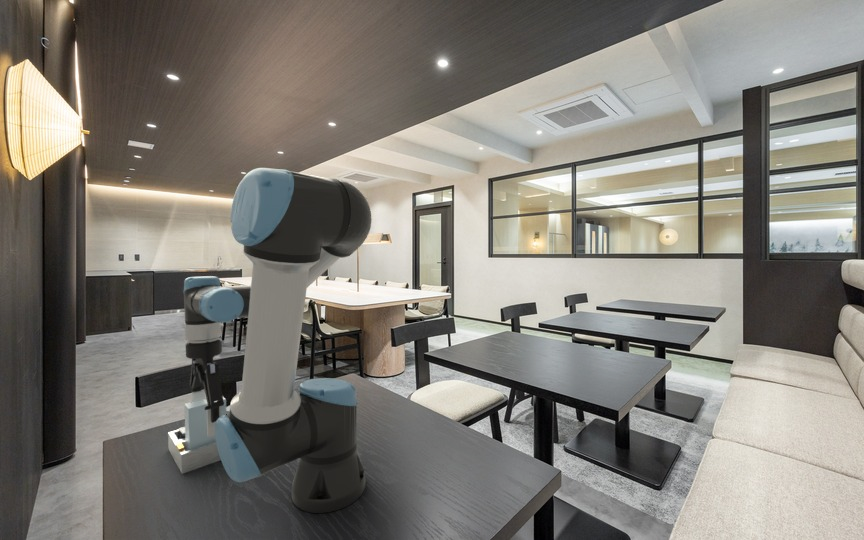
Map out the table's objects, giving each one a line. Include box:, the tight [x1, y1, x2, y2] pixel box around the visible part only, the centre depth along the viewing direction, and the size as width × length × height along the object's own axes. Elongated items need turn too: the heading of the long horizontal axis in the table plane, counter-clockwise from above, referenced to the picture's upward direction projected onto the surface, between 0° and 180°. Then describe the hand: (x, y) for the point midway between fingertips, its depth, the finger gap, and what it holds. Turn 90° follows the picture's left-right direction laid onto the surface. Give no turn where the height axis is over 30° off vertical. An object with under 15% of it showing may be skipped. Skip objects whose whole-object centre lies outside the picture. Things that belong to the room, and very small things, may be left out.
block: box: [183, 396, 227, 451], centre depth 90 cm, size 4×8×12 cm, turn 135°
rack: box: [167, 426, 221, 475], centre depth 93 cm, size 15×12×6 cm
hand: (206, 424), depth 90 cm, fingers open, 13 cm apart
